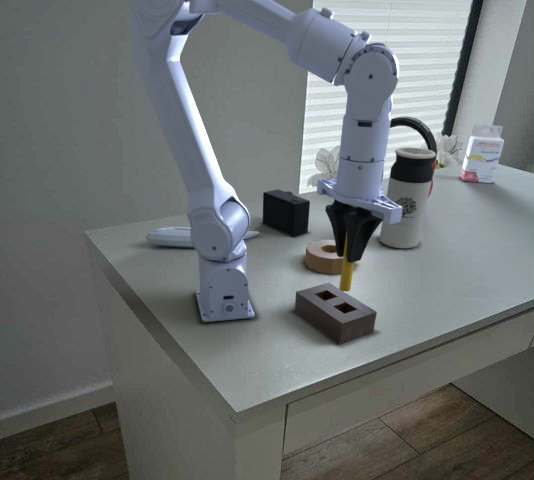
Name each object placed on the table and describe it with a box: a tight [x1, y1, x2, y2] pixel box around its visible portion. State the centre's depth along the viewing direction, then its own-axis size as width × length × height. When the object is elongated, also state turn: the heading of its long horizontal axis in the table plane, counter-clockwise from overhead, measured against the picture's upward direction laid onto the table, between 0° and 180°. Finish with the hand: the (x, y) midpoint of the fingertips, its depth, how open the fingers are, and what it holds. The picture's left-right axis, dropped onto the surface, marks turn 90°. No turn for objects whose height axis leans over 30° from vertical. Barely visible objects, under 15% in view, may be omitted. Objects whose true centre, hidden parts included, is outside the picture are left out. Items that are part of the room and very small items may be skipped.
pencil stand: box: [294, 282, 378, 345], centre depth 74 cm, size 6×11×4 cm, turn 33°
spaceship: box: [144, 226, 260, 248], centre depth 98 cm, size 23×7×4 cm, turn 107°
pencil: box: [338, 230, 355, 293], centre depth 69 cm, size 2×2×10 cm
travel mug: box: [379, 146, 436, 249], centre depth 98 cm, size 8×8×18 cm
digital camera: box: [262, 188, 311, 238], centre depth 106 cm, size 10×5×7 cm, turn 40°
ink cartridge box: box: [459, 124, 505, 184], centre depth 142 cm, size 9×5×15 cm, turn 82°
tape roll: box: [304, 239, 343, 275], centre depth 92 cm, size 9×9×3 cm
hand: (348, 258), depth 69 cm, fingers closed on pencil, 1 cm apart
